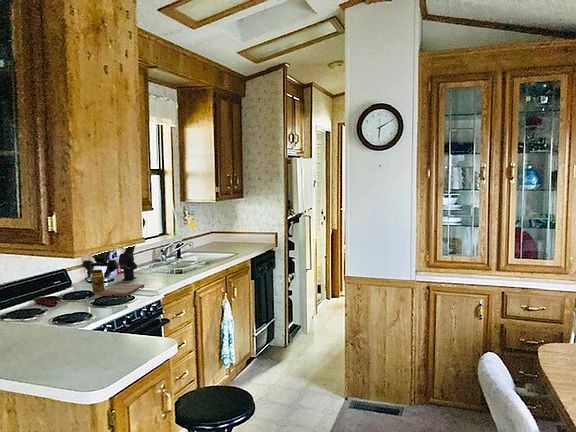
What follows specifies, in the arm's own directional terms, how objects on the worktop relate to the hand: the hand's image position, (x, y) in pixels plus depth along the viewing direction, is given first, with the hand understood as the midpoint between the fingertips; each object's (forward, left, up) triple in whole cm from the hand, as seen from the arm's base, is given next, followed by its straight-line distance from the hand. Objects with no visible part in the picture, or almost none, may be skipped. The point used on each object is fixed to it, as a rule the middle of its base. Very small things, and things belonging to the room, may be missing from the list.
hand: (96, 277), depth 278 cm
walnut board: (-1, +14, -8) cm, 16 cm away
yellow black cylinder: (0, 0, -8) cm, 8 cm away
